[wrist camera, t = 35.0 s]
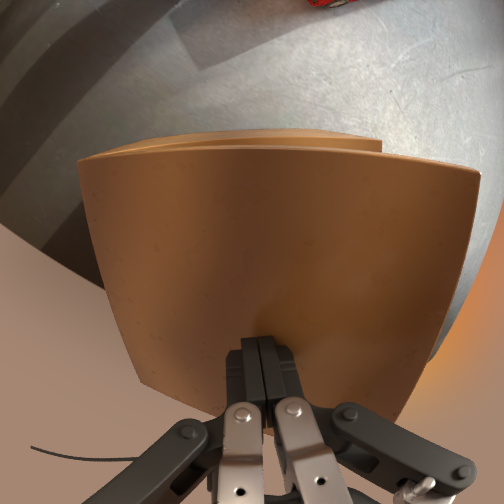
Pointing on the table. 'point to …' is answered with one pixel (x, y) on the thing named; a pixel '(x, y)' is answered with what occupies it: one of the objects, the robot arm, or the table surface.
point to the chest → (256, 140)
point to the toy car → (329, 3)
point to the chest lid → (280, 264)
